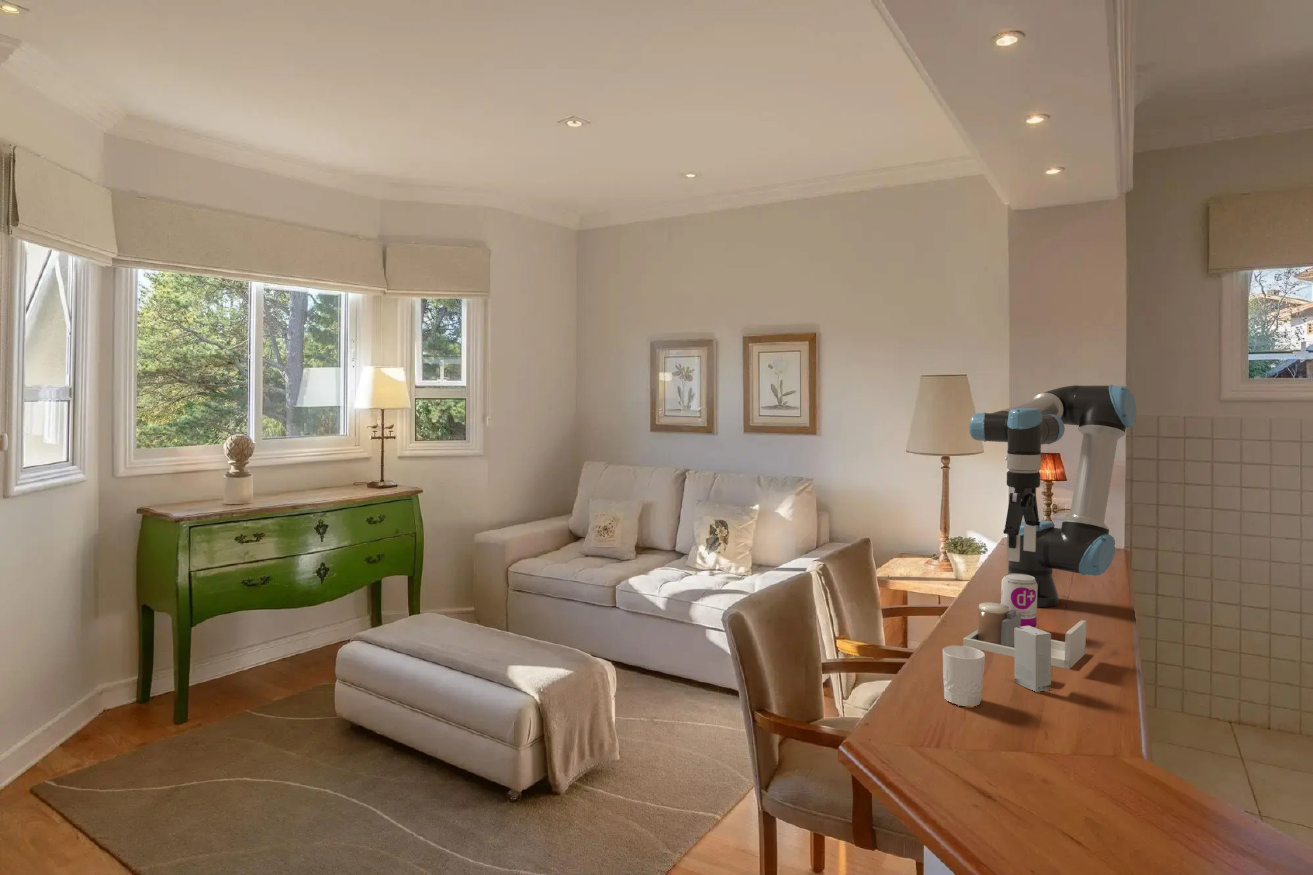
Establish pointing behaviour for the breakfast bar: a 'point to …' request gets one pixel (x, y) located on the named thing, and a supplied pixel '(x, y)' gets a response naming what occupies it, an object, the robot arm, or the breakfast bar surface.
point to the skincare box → (1032, 658)
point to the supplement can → (1021, 596)
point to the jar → (991, 621)
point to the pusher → (1010, 628)
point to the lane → (1060, 651)
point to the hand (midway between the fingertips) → (1021, 555)
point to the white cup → (963, 675)
